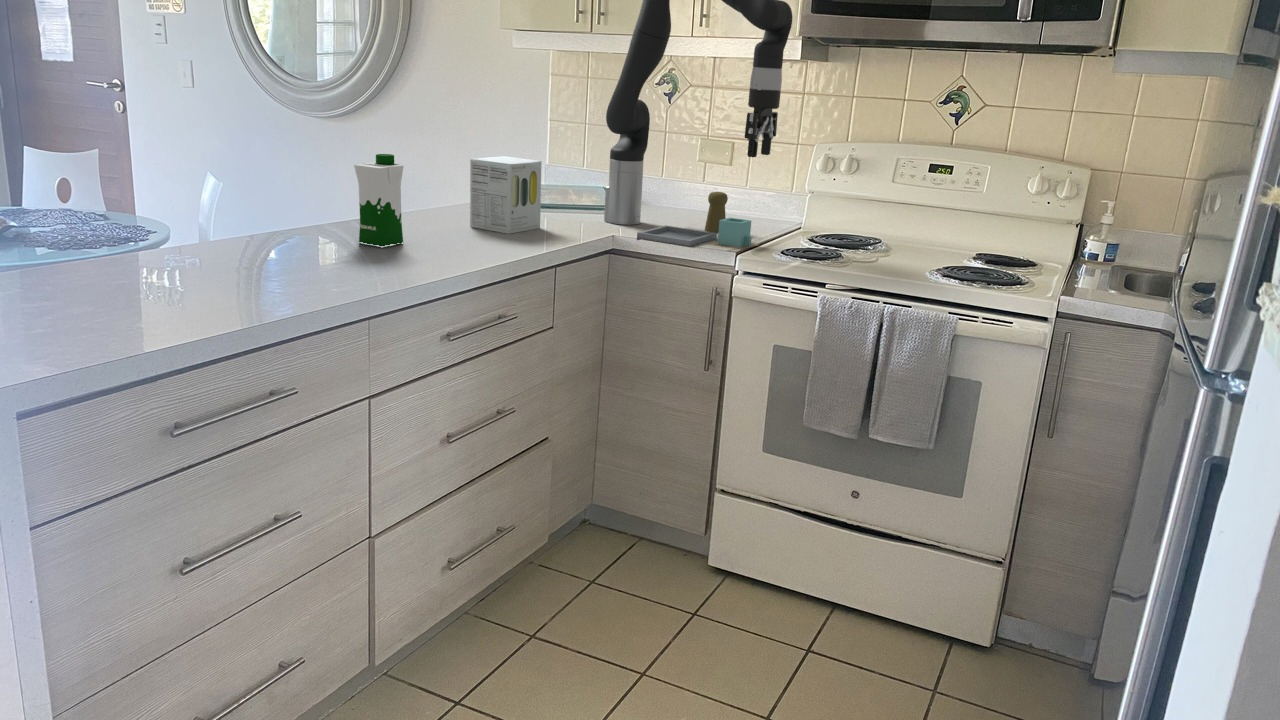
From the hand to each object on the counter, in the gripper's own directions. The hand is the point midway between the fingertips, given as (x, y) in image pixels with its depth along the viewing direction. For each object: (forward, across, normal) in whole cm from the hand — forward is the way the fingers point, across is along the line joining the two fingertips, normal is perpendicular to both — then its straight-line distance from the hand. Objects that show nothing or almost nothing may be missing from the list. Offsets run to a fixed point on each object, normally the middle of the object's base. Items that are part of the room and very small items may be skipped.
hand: (758, 155), depth 231 cm
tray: (+22, +8, -17) cm, 29 cm away
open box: (+22, +4, -3) cm, 22 cm away
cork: (+23, -10, -14) cm, 29 cm away
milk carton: (+23, +63, -65) cm, 93 cm away
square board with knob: (+22, +4, -3) cm, 23 cm away
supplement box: (+23, +25, -58) cm, 67 cm away
